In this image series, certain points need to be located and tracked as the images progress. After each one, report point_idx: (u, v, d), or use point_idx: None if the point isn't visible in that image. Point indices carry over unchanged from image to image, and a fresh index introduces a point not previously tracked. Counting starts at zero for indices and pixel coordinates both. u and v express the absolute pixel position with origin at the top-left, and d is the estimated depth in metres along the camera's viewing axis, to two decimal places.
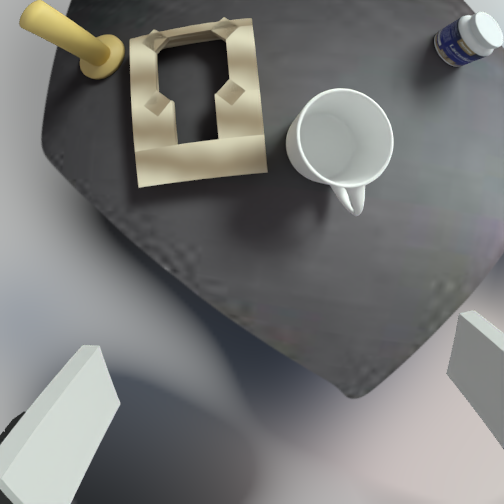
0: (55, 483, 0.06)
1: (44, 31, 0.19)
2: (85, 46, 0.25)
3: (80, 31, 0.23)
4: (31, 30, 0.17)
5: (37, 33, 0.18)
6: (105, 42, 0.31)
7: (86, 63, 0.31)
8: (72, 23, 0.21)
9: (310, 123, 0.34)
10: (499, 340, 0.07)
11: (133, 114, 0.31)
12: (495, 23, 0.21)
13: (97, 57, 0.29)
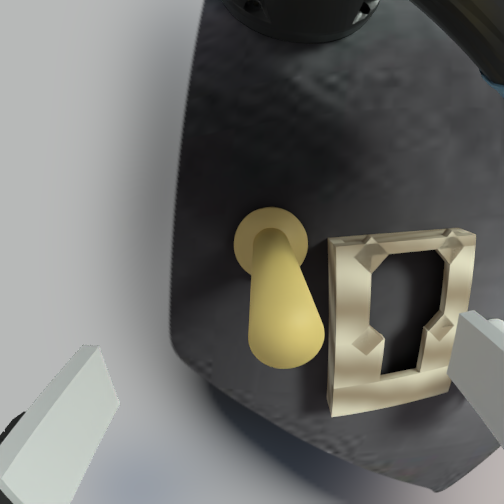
0: (55, 483, 0.06)
1: None
2: None
3: None
4: None
5: None
6: (278, 223, 0.26)
7: (247, 253, 0.27)
8: None
9: None
10: (499, 340, 0.07)
11: (337, 352, 0.27)
12: None
13: None
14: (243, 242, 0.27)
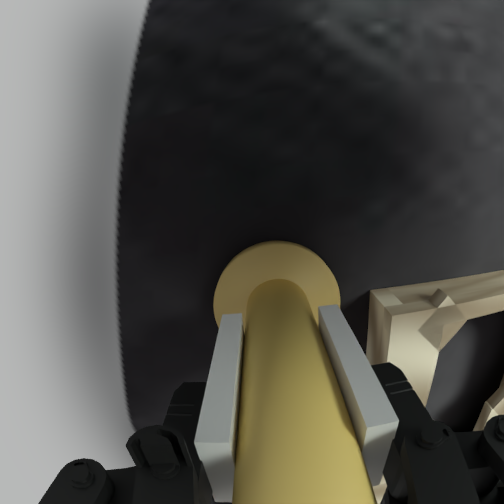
0: None
1: None
2: None
3: None
4: None
5: None
6: (291, 272, 0.15)
7: None
8: None
9: None
10: (339, 334, 0.10)
11: None
12: None
13: None
14: (229, 303, 0.15)
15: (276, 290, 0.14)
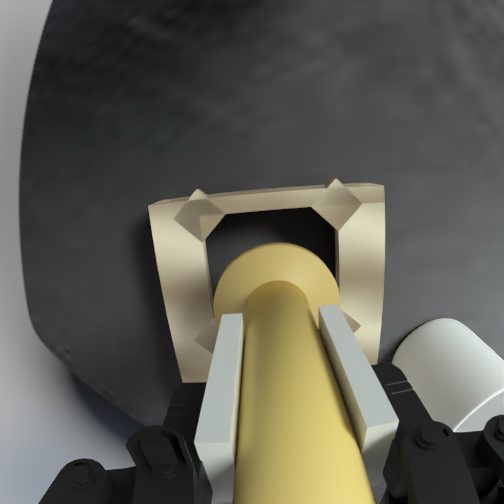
0: None
1: None
2: None
3: None
4: None
5: None
6: (291, 273, 0.15)
7: None
8: (363, 463, 0.06)
9: None
10: (339, 334, 0.10)
11: (177, 349, 0.21)
12: None
13: None
14: (229, 305, 0.15)
15: (276, 292, 0.14)
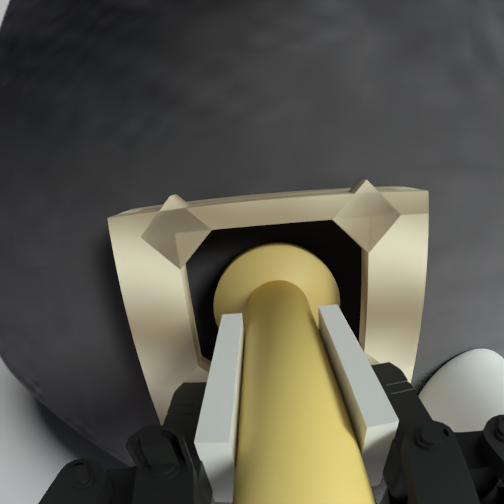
0: None
1: None
2: None
3: None
4: None
5: None
6: (290, 273, 0.15)
7: None
8: (363, 462, 0.06)
9: None
10: (339, 334, 0.10)
11: (155, 400, 0.15)
12: None
13: None
14: (229, 304, 0.15)
15: (276, 291, 0.14)
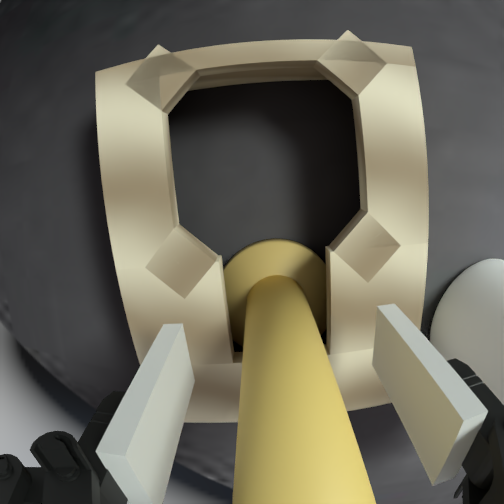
0: (160, 458, 0.07)
1: None
2: None
3: None
4: None
5: None
6: (289, 268, 0.16)
7: (237, 315, 0.16)
8: (356, 442, 0.06)
9: None
10: (407, 333, 0.09)
11: (122, 284, 0.14)
12: None
13: None
14: (230, 298, 0.16)
15: (275, 285, 0.14)
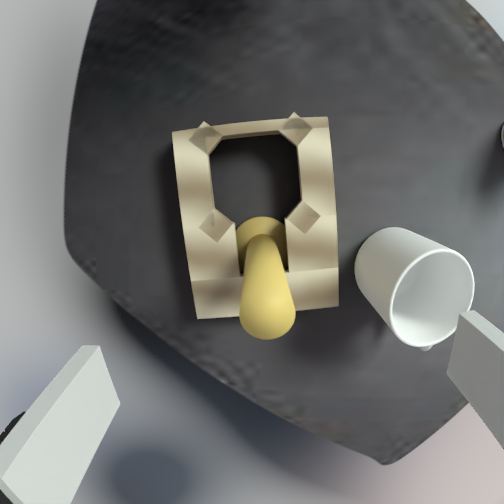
0: (55, 483, 0.06)
1: None
2: None
3: None
4: None
5: None
6: (268, 230, 0.31)
7: (241, 255, 0.32)
8: (285, 275, 0.22)
9: None
10: (499, 340, 0.07)
11: (186, 236, 0.29)
12: None
13: None
14: (238, 246, 0.32)
15: (260, 236, 0.30)
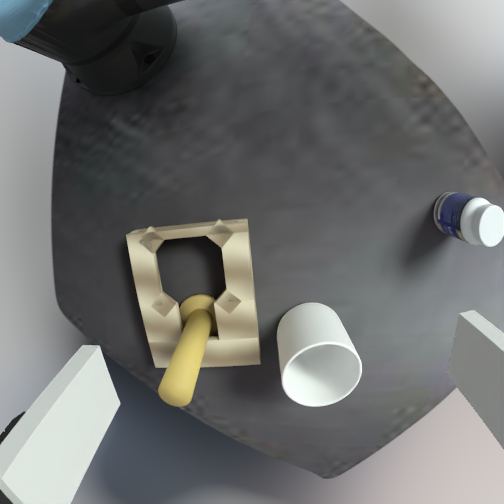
0: (55, 483, 0.06)
1: None
2: None
3: (203, 351, 0.32)
4: None
5: None
6: (204, 306, 0.40)
7: (186, 323, 0.40)
8: (199, 358, 0.30)
9: None
10: (499, 340, 0.07)
11: (142, 312, 0.38)
12: (501, 215, 0.27)
13: None
14: (183, 316, 0.40)
15: (197, 313, 0.38)
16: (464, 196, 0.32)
